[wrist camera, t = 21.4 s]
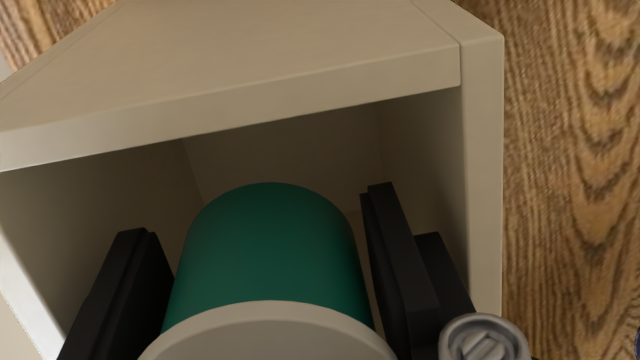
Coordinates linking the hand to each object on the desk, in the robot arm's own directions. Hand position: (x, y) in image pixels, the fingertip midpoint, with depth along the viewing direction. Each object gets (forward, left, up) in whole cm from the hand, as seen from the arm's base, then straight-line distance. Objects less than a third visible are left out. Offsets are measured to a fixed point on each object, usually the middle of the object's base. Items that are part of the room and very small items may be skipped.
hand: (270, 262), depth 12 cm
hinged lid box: (+1, 0, -11) cm, 11 cm away
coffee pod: (0, 0, 0) cm, 0 cm away
